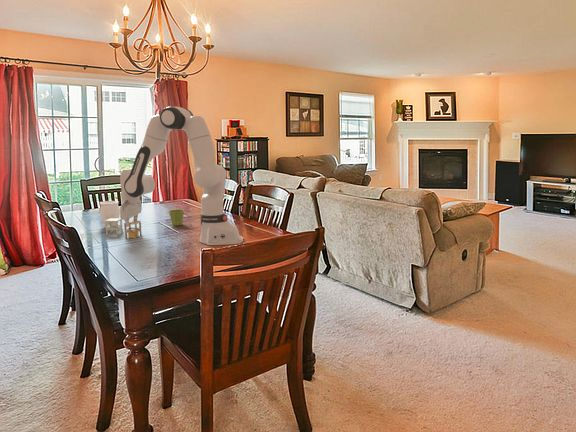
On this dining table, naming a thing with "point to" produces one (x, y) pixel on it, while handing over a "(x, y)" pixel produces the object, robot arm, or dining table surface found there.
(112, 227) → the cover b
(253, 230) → the dining table surface
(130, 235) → the letter block
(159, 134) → the robot arm
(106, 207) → the jar
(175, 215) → the plant pot
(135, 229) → the tan square stool
